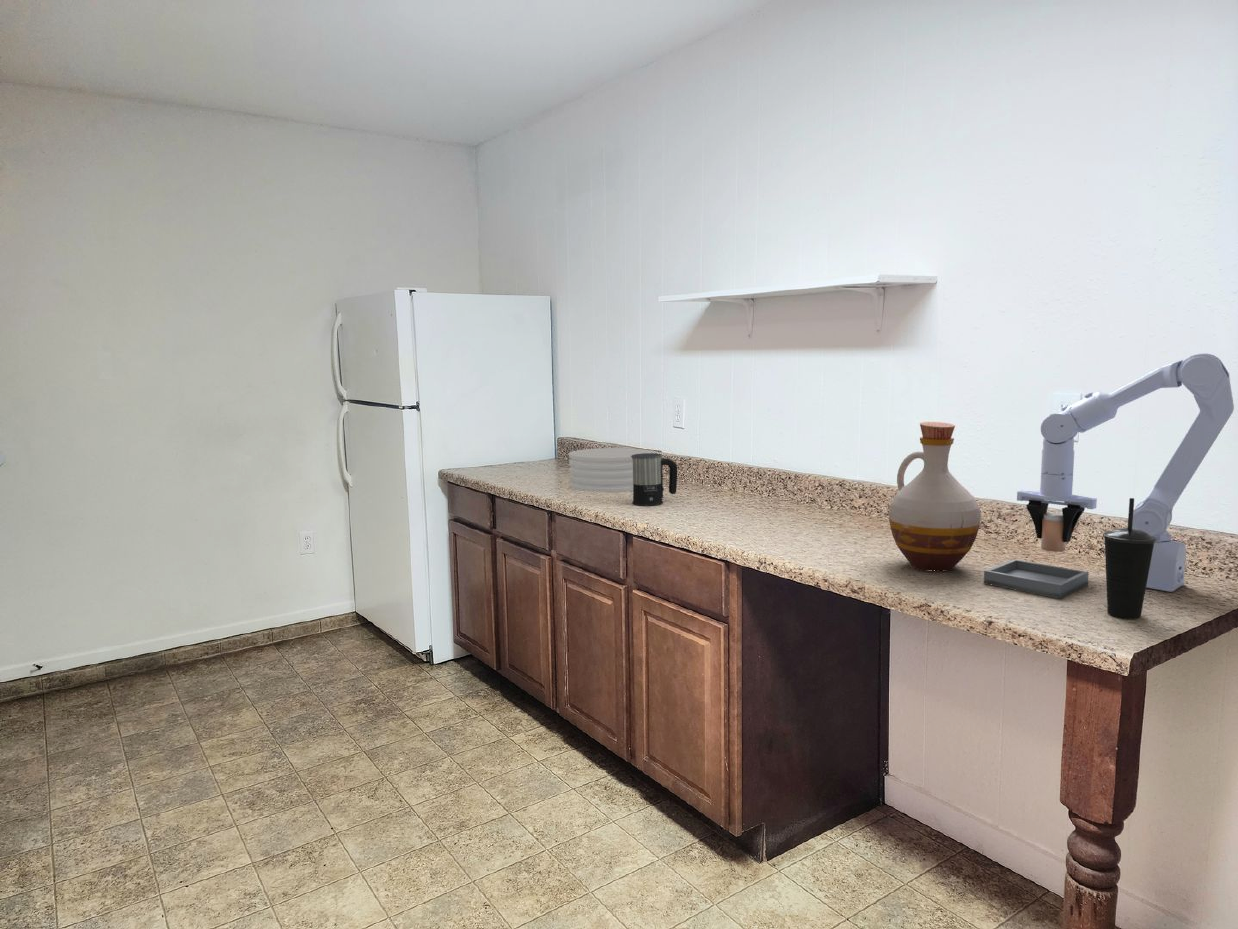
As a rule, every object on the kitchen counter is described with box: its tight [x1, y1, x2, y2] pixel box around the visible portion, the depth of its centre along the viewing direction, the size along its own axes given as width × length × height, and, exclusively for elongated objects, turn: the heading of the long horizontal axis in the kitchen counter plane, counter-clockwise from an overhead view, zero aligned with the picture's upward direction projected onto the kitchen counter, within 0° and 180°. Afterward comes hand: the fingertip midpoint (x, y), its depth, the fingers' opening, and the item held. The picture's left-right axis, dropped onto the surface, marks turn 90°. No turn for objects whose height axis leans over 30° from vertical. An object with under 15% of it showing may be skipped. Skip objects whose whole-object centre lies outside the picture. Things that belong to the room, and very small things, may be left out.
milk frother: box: [631, 452, 678, 507], centre depth 254 cm, size 14×16×15 cm
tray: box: [983, 558, 1089, 599], centre depth 160 cm, size 14×13×2 cm
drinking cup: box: [1102, 497, 1156, 620], centre depth 140 cm, size 8×8×20 cm
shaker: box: [1040, 512, 1067, 553], centre depth 169 cm, size 4×4×7 cm
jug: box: [888, 421, 982, 572], centre depth 173 cm, size 20×18×30 cm
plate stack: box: [568, 447, 652, 493], centre depth 285 cm, size 28×28×12 cm
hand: (1053, 539), depth 169 cm, fingers closed on shaker, 4 cm apart
